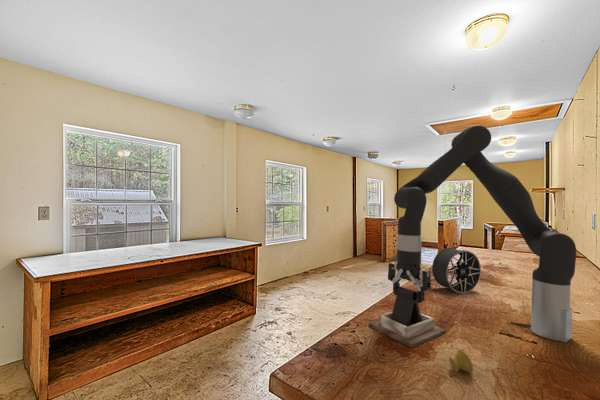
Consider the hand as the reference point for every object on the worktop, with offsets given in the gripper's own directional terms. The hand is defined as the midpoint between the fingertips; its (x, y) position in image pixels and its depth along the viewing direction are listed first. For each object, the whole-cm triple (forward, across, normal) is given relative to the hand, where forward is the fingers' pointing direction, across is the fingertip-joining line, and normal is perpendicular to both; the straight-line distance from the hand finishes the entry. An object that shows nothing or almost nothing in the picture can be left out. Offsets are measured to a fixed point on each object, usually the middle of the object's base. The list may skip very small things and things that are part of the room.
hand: (407, 298), depth 90 cm
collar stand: (+10, 0, 0) cm, 10 cm away
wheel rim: (+11, +14, -58) cm, 61 cm away
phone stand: (+9, 0, 0) cm, 9 cm away
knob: (+11, -21, +8) cm, 25 cm away
